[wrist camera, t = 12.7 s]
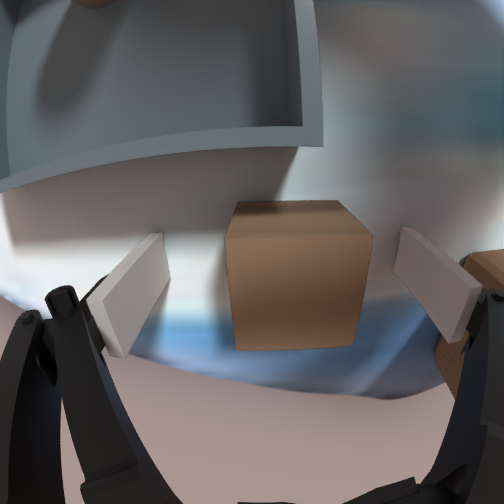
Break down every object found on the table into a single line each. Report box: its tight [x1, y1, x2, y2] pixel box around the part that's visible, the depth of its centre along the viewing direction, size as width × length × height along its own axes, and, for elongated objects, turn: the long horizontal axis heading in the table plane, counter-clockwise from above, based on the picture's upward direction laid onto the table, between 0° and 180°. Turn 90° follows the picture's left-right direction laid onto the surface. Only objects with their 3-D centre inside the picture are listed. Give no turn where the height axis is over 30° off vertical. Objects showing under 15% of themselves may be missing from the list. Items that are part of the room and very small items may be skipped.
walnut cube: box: [224, 200, 373, 351], centre depth 12 cm, size 5×5×5 cm
